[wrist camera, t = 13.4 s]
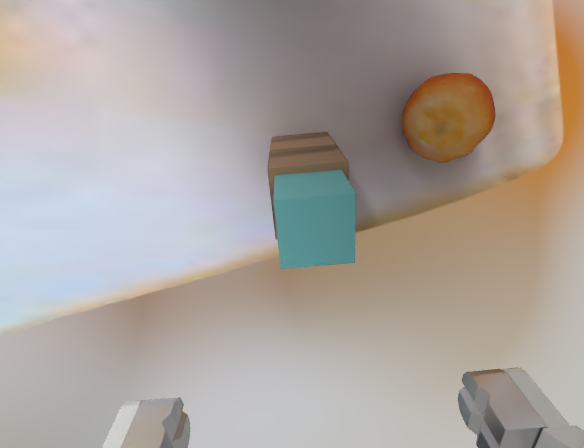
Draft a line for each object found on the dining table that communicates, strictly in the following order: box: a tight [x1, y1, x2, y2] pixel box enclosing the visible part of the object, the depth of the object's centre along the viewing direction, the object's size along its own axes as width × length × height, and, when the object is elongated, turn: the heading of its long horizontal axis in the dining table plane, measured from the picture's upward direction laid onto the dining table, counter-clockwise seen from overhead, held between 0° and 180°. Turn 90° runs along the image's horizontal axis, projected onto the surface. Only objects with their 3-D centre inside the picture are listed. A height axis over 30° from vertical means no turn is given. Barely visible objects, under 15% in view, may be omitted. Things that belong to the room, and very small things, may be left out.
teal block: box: [273, 170, 356, 269], centre depth 23 cm, size 5×5×5 cm
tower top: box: [268, 144, 348, 239], centre depth 28 cm, size 6×6×6 cm
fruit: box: [402, 73, 495, 163], centre depth 31 cm, size 8×8×8 cm
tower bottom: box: [270, 132, 335, 150], centre depth 33 cm, size 6×6×6 cm
